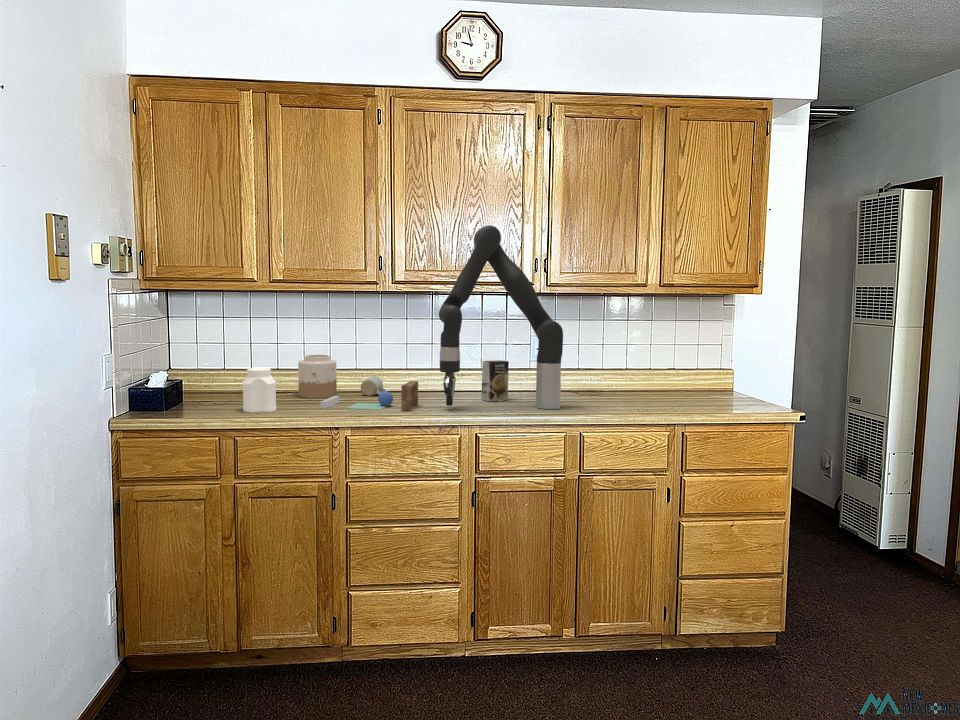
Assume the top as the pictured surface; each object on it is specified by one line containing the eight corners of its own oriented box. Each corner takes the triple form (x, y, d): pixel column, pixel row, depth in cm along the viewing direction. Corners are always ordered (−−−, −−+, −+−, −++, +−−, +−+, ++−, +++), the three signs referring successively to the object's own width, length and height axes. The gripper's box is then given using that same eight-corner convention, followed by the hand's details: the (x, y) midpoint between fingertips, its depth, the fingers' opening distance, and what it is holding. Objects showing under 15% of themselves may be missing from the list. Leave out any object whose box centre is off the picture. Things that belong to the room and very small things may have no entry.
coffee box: (490, 402, 295) (490, 361, 294) (481, 400, 300) (481, 360, 299) (508, 400, 300) (509, 360, 299) (499, 398, 305) (500, 359, 304)
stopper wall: (339, 402, 290) (339, 395, 290) (325, 408, 275) (325, 401, 274) (334, 402, 291) (334, 395, 290) (320, 408, 275) (320, 401, 275)
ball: (380, 391, 285) (383, 406, 285) (374, 393, 280) (377, 408, 280) (394, 389, 283) (396, 404, 284) (388, 391, 278) (390, 406, 278)
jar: (241, 412, 264) (241, 370, 262) (244, 408, 273) (243, 367, 272) (275, 412, 266) (274, 370, 265) (277, 407, 275) (276, 367, 274)
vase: (304, 393, 314) (304, 353, 313) (340, 394, 313) (340, 354, 312) (293, 398, 299) (293, 357, 297) (331, 399, 298) (330, 357, 296)
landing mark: (389, 404, 286) (389, 404, 286) (380, 409, 273) (380, 409, 273) (357, 403, 288) (357, 402, 288) (346, 408, 275) (346, 408, 275)
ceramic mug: (359, 396, 307) (359, 377, 307) (365, 393, 315) (365, 375, 315) (384, 397, 306) (384, 379, 305) (389, 394, 314) (390, 376, 313)
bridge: (418, 405, 285) (418, 381, 285) (409, 411, 271) (409, 386, 270) (410, 404, 286) (410, 380, 285) (401, 411, 271) (401, 385, 271)
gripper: (456, 361, 268) (456, 408, 269) (462, 357, 281) (462, 403, 282) (436, 360, 269) (436, 407, 270) (443, 357, 282) (442, 402, 283)
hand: (449, 405), depth 276 cm, fingers closed
